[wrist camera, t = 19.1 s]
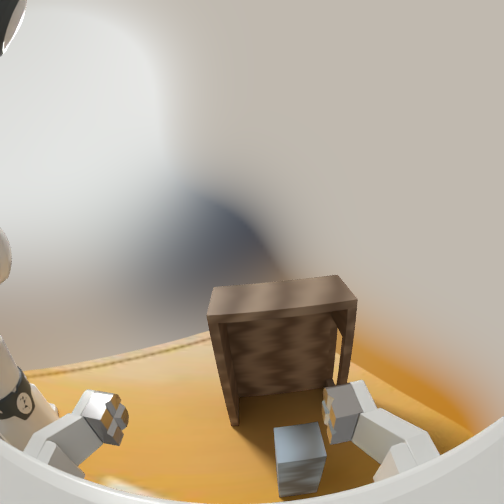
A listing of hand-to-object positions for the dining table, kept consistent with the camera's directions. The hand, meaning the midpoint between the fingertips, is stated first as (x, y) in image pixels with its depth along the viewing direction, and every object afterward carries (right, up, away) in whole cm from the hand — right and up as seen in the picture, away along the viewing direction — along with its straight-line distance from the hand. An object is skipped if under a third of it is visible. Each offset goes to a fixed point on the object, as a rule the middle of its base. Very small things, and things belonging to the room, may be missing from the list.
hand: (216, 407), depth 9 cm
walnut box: (+7, -21, +33) cm, 39 cm away
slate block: (+7, -25, +18) cm, 32 cm away
